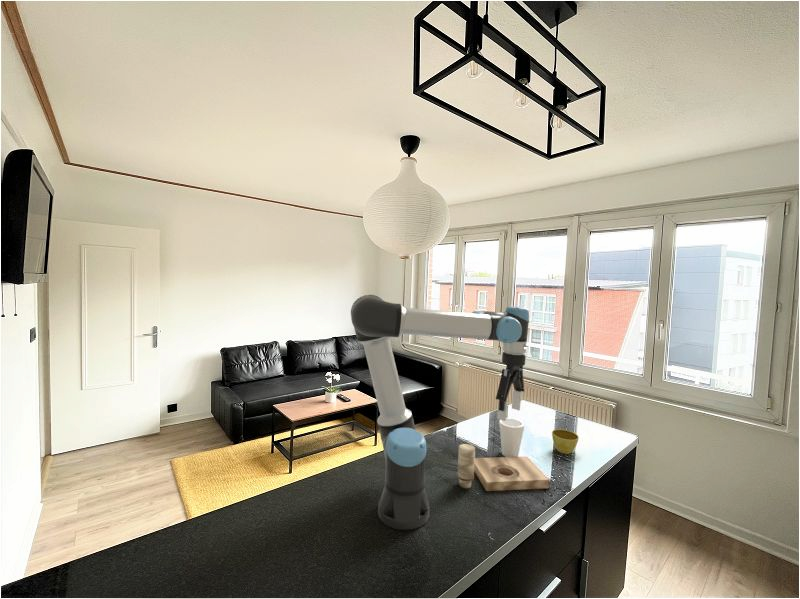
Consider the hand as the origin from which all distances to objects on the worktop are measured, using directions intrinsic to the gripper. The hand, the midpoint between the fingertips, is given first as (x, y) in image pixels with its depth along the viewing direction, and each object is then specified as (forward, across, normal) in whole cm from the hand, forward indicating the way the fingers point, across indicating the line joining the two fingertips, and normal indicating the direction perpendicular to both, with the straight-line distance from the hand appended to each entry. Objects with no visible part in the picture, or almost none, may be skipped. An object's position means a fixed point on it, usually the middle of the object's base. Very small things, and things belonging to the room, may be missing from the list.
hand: (509, 414), depth 126 cm
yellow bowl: (+24, +40, -11) cm, 47 cm away
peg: (+24, -10, +10) cm, 28 cm away
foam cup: (+24, +22, +6) cm, 33 cm away
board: (+24, +5, 0) cm, 25 cm away
